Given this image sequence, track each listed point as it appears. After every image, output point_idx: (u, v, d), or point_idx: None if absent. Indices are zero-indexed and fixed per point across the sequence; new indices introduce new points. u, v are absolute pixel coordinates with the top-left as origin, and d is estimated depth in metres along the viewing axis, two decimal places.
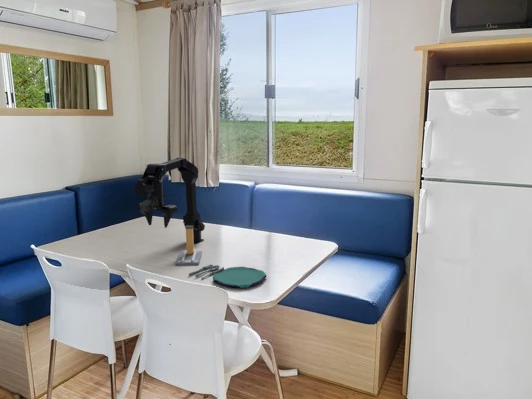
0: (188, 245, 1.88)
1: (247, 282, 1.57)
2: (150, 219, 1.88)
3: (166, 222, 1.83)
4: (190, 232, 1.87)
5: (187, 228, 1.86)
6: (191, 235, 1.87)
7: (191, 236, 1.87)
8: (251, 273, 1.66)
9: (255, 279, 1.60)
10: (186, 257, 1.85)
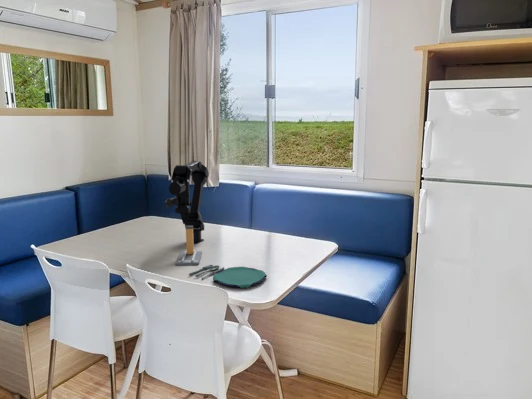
0: (188, 245, 1.88)
1: (247, 282, 1.57)
2: None
3: (183, 219, 1.96)
4: (190, 232, 1.87)
5: (187, 228, 1.86)
6: (191, 235, 1.87)
7: (191, 236, 1.87)
8: (251, 273, 1.66)
9: (255, 279, 1.60)
10: (186, 257, 1.85)
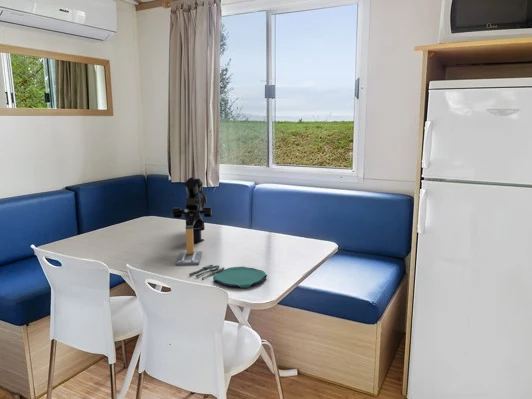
0: (188, 245, 1.88)
1: (248, 282, 1.57)
2: (191, 223, 1.98)
3: (193, 222, 1.97)
4: (190, 232, 1.87)
5: (187, 228, 1.86)
6: (191, 235, 1.87)
7: (191, 236, 1.87)
8: (251, 273, 1.66)
9: (255, 279, 1.60)
10: (186, 257, 1.85)
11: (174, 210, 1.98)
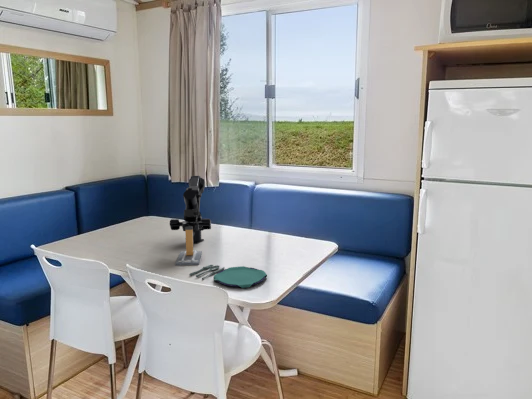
0: (187, 246, 1.86)
1: (248, 282, 1.57)
2: None
3: None
4: (190, 233, 1.85)
5: (187, 229, 1.85)
6: (191, 236, 1.86)
7: (191, 237, 1.86)
8: (252, 273, 1.66)
9: (256, 279, 1.60)
10: (186, 257, 1.85)
11: (172, 222, 1.90)
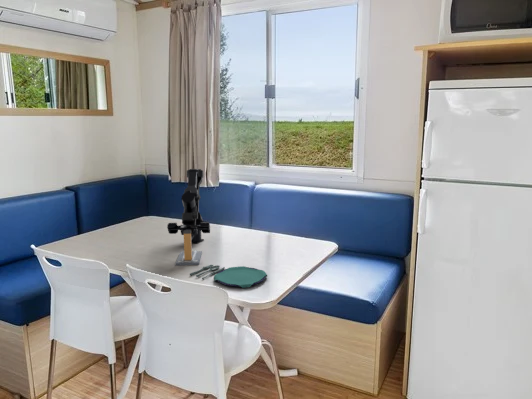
0: (186, 250, 1.80)
1: (248, 282, 1.57)
2: None
3: None
4: (188, 237, 1.79)
5: (185, 233, 1.78)
6: (189, 240, 1.79)
7: (189, 241, 1.79)
8: (252, 273, 1.66)
9: (256, 279, 1.60)
10: None
11: (170, 225, 1.83)
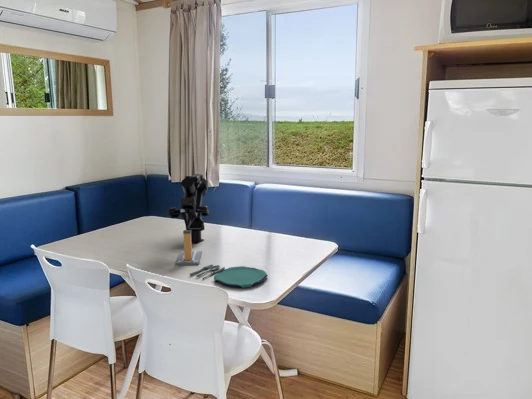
0: (186, 250, 1.80)
1: (249, 282, 1.57)
2: None
3: (189, 222, 1.92)
4: (188, 237, 1.79)
5: (185, 233, 1.79)
6: (189, 240, 1.79)
7: (189, 241, 1.79)
8: (252, 273, 1.66)
9: (256, 279, 1.60)
10: None
11: (170, 210, 1.93)
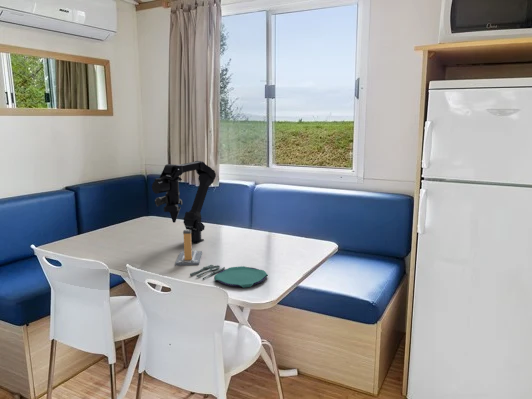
0: (186, 250, 1.80)
1: (249, 282, 1.57)
2: None
3: (172, 217, 1.98)
4: (188, 237, 1.79)
5: (185, 233, 1.79)
6: (189, 240, 1.79)
7: (189, 241, 1.79)
8: (252, 273, 1.66)
9: (257, 279, 1.60)
10: None
11: None
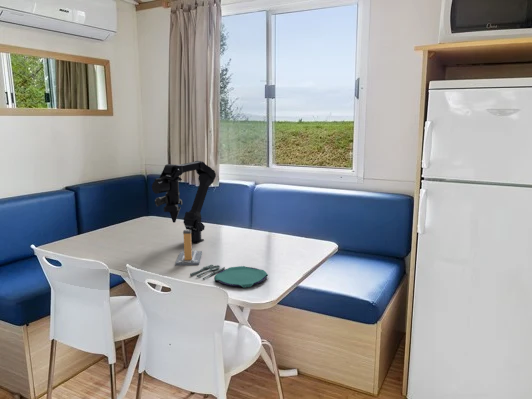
0: (186, 250, 1.80)
1: (249, 281, 1.57)
2: None
3: (172, 217, 1.98)
4: (188, 237, 1.79)
5: (185, 233, 1.79)
6: (189, 240, 1.79)
7: (189, 241, 1.79)
8: (252, 273, 1.67)
9: (257, 278, 1.60)
10: None
11: None
